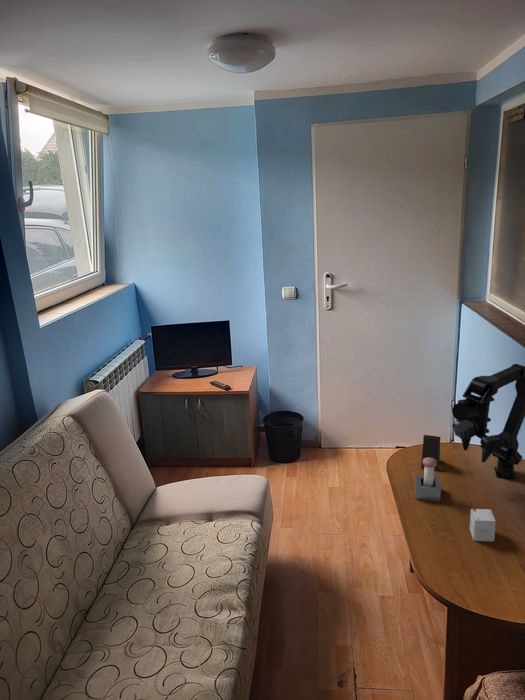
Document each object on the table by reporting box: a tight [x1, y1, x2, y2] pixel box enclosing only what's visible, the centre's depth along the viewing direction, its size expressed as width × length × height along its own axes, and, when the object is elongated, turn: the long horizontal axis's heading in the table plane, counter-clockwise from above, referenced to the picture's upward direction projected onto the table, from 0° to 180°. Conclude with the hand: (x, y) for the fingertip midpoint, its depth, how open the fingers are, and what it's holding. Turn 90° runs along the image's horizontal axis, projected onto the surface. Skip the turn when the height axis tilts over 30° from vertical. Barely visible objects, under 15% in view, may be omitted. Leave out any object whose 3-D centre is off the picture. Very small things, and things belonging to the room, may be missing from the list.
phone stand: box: [420, 434, 442, 472], centre depth 198 cm, size 9×6×12 cm, turn 156°
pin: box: [423, 458, 437, 487], centre depth 179 cm, size 5×5×13 cm
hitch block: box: [415, 475, 442, 502], centre depth 181 cm, size 8×8×4 cm
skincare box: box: [469, 508, 497, 542], centre depth 158 cm, size 6×6×7 cm
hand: (474, 456), depth 179 cm, fingers open, 9 cm apart
